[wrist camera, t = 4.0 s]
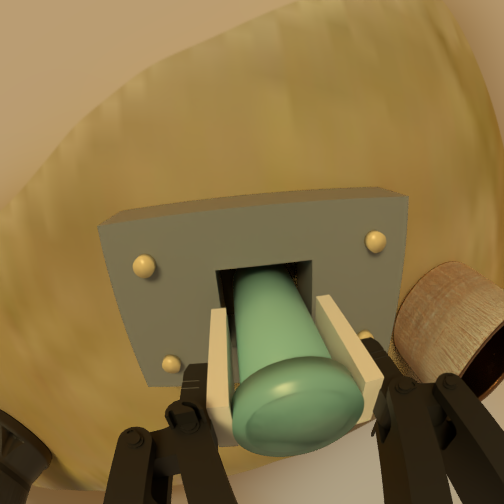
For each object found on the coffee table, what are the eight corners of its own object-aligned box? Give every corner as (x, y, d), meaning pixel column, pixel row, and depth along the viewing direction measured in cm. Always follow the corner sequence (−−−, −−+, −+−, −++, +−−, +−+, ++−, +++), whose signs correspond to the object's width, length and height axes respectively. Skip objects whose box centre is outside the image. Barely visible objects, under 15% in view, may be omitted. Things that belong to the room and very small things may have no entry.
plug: (230, 315, 21) (240, 462, 9) (222, 253, 19) (222, 392, 8) (295, 307, 21) (352, 442, 10) (294, 246, 19) (375, 365, 8)
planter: (444, 351, 26) (489, 403, 17) (373, 356, 24) (418, 429, 15) (482, 265, 22) (545, 306, 13) (416, 250, 21) (495, 304, 12)
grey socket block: (157, 353, 22) (146, 392, 18) (121, 211, 18) (92, 228, 13) (367, 327, 23) (390, 360, 18) (377, 187, 19) (414, 198, 14)
